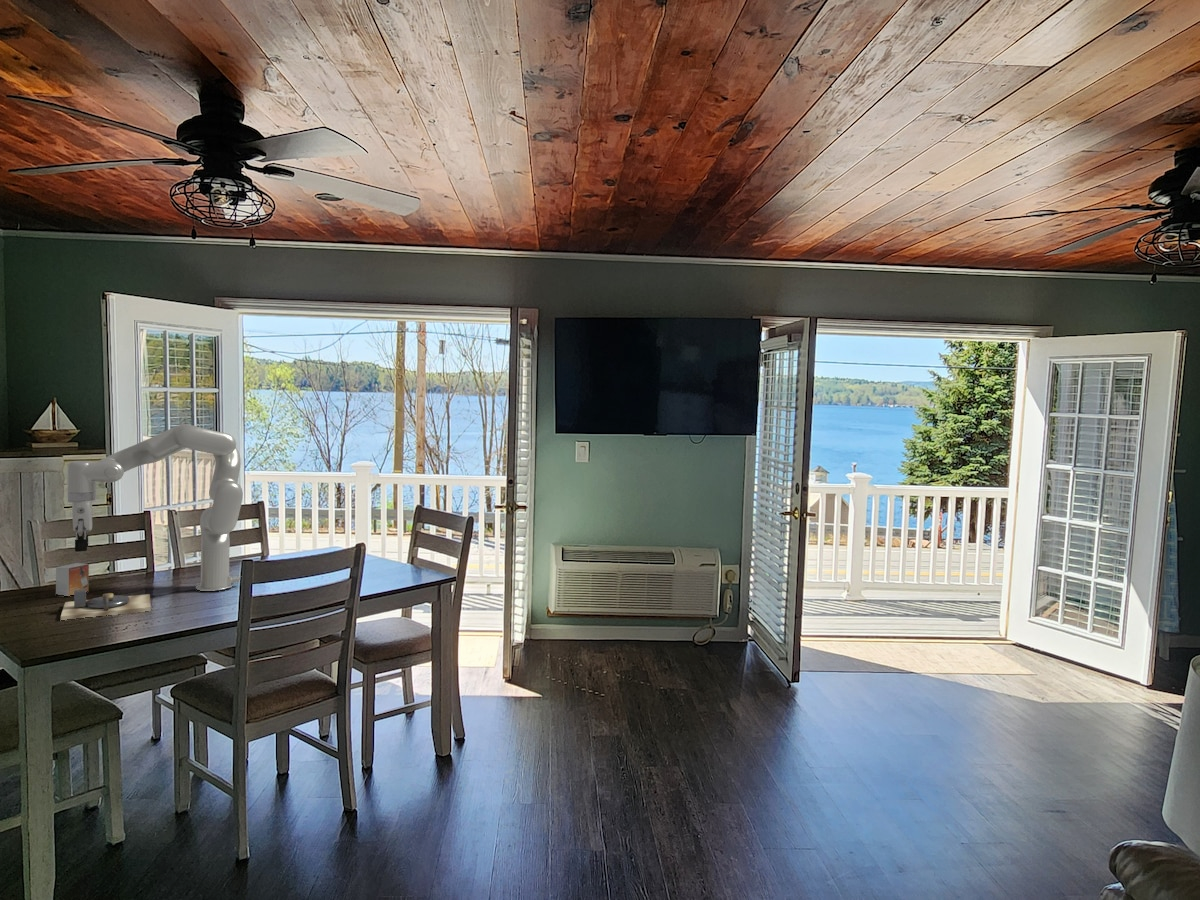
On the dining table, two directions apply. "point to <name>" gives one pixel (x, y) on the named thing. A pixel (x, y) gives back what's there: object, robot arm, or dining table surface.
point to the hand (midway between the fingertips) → (81, 548)
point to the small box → (72, 578)
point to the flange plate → (97, 600)
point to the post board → (133, 606)
